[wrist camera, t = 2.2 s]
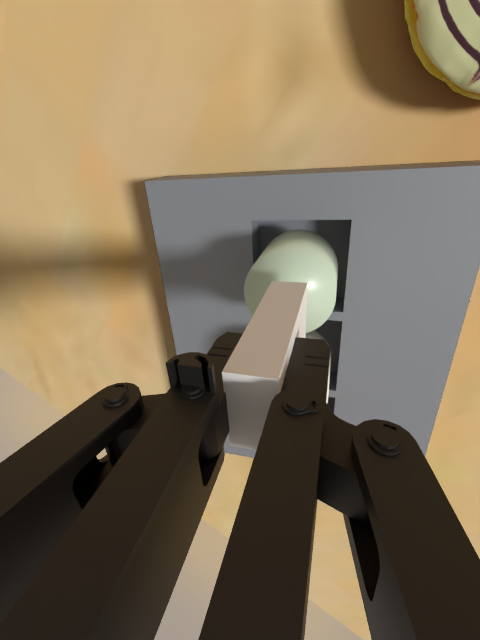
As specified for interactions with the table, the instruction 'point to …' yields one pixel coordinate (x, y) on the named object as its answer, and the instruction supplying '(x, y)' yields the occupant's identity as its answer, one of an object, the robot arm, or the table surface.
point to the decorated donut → (447, 41)
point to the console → (353, 271)
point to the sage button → (297, 273)
